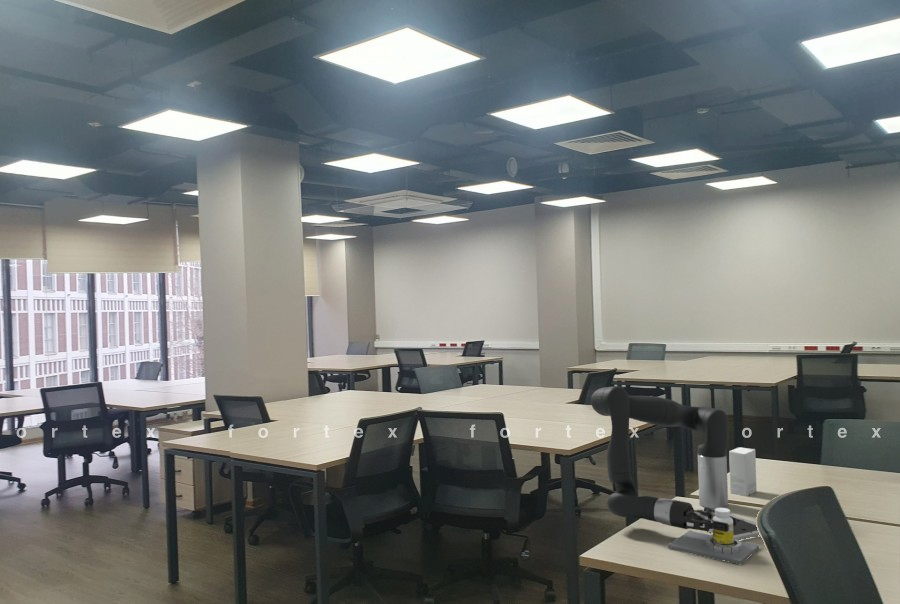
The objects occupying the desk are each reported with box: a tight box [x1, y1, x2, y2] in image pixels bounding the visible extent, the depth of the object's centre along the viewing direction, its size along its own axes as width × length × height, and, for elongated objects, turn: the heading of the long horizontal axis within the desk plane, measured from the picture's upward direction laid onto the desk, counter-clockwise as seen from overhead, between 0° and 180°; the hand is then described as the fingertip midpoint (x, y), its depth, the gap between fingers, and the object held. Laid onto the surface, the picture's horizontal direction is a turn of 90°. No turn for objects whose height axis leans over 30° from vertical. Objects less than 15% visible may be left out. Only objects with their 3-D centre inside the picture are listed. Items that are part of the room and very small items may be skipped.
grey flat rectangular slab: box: [667, 530, 760, 565], centre depth 187 cm, size 15×20×1 cm
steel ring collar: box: [706, 537, 742, 553], centre depth 185 cm, size 9×9×2 cm
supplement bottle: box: [712, 507, 734, 547], centre depth 185 cm, size 5×5×10 cm
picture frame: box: [707, 513, 760, 540], centre depth 204 cm, size 16×3×21 cm
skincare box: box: [728, 446, 757, 497], centre depth 240 cm, size 8×7×16 cm
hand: (732, 524), depth 184 cm, fingers closed on supplement bottle, 5 cm apart
